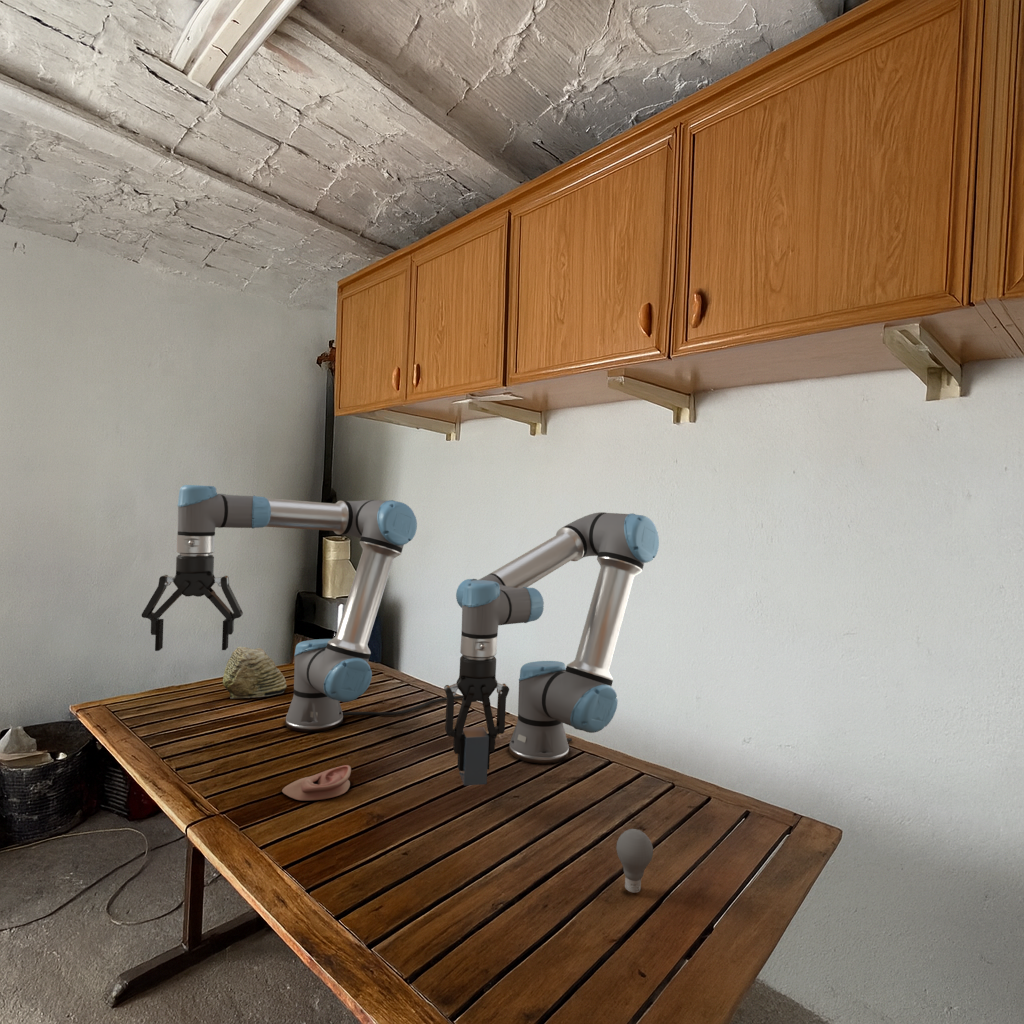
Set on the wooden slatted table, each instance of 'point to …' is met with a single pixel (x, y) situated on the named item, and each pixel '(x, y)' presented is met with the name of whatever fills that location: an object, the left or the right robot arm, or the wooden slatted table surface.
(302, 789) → the anatomical model
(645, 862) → the light bulb
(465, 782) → the brick
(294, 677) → the left robot arm
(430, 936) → the wooden slatted table surface
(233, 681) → the fossil
